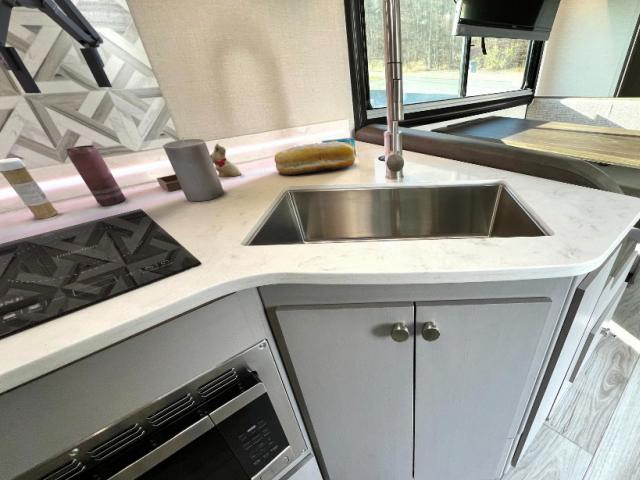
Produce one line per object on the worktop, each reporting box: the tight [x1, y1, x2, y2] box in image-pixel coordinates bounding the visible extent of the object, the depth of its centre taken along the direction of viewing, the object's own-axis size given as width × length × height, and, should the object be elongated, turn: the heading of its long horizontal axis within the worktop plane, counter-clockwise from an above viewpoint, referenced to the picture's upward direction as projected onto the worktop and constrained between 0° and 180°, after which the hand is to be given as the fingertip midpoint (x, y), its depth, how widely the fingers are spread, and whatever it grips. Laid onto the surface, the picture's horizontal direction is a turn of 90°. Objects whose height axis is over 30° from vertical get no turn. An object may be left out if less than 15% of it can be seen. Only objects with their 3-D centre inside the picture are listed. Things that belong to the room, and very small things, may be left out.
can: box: [66, 144, 126, 207], centre depth 82 cm, size 6×6×14 cm
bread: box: [274, 142, 356, 176], centre depth 105 cm, size 13×26×8 cm, turn 111°
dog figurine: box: [210, 142, 243, 178], centre depth 102 cm, size 6×8×10 cm
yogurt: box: [321, 136, 357, 156], centre depth 118 cm, size 12×2×6 cm, turn 112°
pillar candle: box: [161, 137, 225, 202], centre depth 84 cm, size 10×10×15 cm
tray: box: [156, 173, 182, 193], centre depth 97 cm, size 11×9×2 cm
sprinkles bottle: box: [0, 157, 59, 219], centre depth 76 cm, size 5×5×14 cm
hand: (72, 90), depth 62 cm, fingers open, 13 cm apart
